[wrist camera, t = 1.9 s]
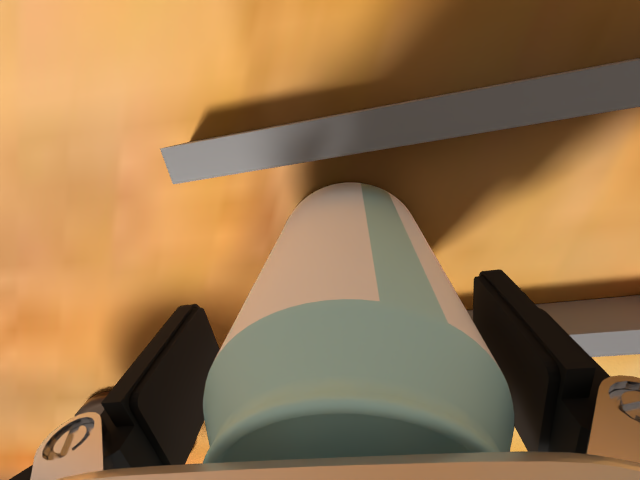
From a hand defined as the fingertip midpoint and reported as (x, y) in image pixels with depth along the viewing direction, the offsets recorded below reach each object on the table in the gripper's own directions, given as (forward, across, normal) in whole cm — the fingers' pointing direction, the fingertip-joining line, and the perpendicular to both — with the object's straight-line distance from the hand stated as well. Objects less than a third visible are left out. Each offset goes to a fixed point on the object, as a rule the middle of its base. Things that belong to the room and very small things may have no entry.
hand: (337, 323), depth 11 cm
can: (+7, -1, 0) cm, 7 cm away
